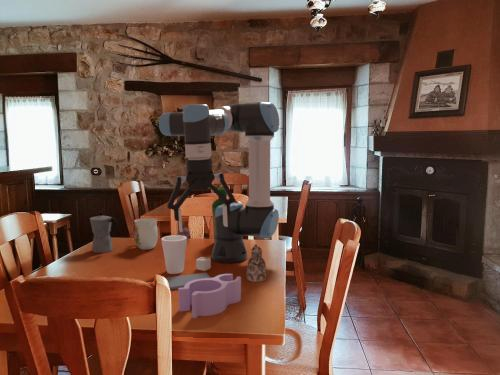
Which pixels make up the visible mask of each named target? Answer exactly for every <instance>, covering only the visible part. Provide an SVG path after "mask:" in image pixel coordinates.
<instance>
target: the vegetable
mask: <svg viewBox="0 0 500 375" xmlns="http://www.w3.org/2000/svg"><path fill="white" fill-rule="evenodd" d="M182 229H183V232H180V231H179V230H178V231H177V235H181V236H185V237H186V238H187V239H188V238H189V237H190V234H191V231H190V229H188V228H187V227H185V221H182Z"/></svg>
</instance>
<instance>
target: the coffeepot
mask: <svg viewBox="0 0 500 375" xmlns="http://www.w3.org/2000/svg"><path fill="white" fill-rule="evenodd" d="M103 212H104V211H98V214H99V215H98V216H96V215H95V216H92V217H89V222H90V226H91V230H92V234H93V238H92V246H91V252H92V253H95V254H104V253H108V252H109V253H110V252H112V251H113V250H114V246H113V242H112V237H113V236H114V237H115V234H116V230H117V227H118V220H116V218H115V217H112V216H108V215H103ZM112 223H113V224H112ZM111 228H112V229H111ZM110 232H111V233H110ZM111 236H112V237H111Z"/></svg>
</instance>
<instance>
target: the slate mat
mask: <svg viewBox="0 0 500 375" xmlns="http://www.w3.org/2000/svg"><path fill="white" fill-rule="evenodd" d="M165 278H166V279H167V280H168V282H169V286H170V290H169V291H172V290H173V291H174V290H178V288H183V287H184V286H185V284H186V283H188V282H190V281H193V280H196V279H204V278H212V277H211V276H210V275H209V274H208V272H200V273H199V272H198V273H194V274H193V273H192V274H183V275H176V276H168V277H165Z"/></svg>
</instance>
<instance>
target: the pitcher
mask: <svg viewBox="0 0 500 375" xmlns="http://www.w3.org/2000/svg"><path fill="white" fill-rule="evenodd" d="M133 222H134V225H135V227H134V230H133V235H134V236H133V237H134V241H135V244H136V245H137V247H138V248H139V250H152V249H154V248H155V246H156V245H157V242H158V239H159V228H158V226H157V225H158V219H157V218H155V217H144V218H138V219H134V221H133Z"/></svg>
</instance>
